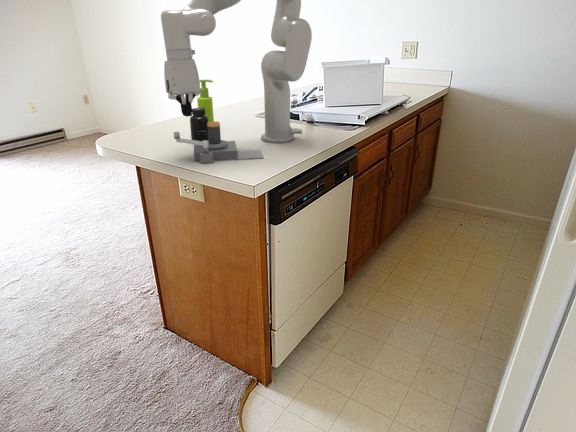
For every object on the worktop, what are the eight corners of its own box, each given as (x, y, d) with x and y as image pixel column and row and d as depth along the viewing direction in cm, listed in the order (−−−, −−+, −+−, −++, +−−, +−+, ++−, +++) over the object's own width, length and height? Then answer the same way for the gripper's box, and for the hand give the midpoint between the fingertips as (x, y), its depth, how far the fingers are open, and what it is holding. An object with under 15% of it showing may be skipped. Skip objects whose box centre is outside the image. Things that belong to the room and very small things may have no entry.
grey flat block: (235, 149, 147) (234, 140, 146) (238, 161, 134) (238, 152, 133) (195, 151, 145) (194, 142, 144) (194, 164, 132) (193, 155, 131)
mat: (260, 150, 146) (260, 149, 145) (263, 158, 138) (263, 157, 137) (234, 152, 144) (234, 150, 144) (236, 160, 136) (236, 158, 136)
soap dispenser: (213, 132, 168) (210, 81, 160) (197, 131, 169) (193, 80, 161) (218, 129, 173) (215, 79, 165) (203, 128, 175) (199, 78, 166)
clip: (177, 146, 138) (175, 131, 135) (210, 151, 133) (208, 135, 131) (174, 148, 136) (172, 132, 134) (207, 153, 132) (205, 137, 129)
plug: (227, 151, 145) (225, 119, 140) (228, 158, 138) (226, 125, 133) (203, 152, 144) (201, 120, 139) (203, 159, 137) (201, 126, 132)
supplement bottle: (201, 144, 152) (198, 111, 147) (187, 141, 156) (184, 109, 151) (213, 140, 158) (211, 108, 153) (200, 137, 161) (197, 106, 156)
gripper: (194, 52, 133) (201, 110, 141) (150, 56, 124) (160, 117, 133) (207, 53, 128) (213, 113, 136) (161, 58, 119) (171, 122, 128)
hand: (187, 115), depth 135 cm, fingers closed
